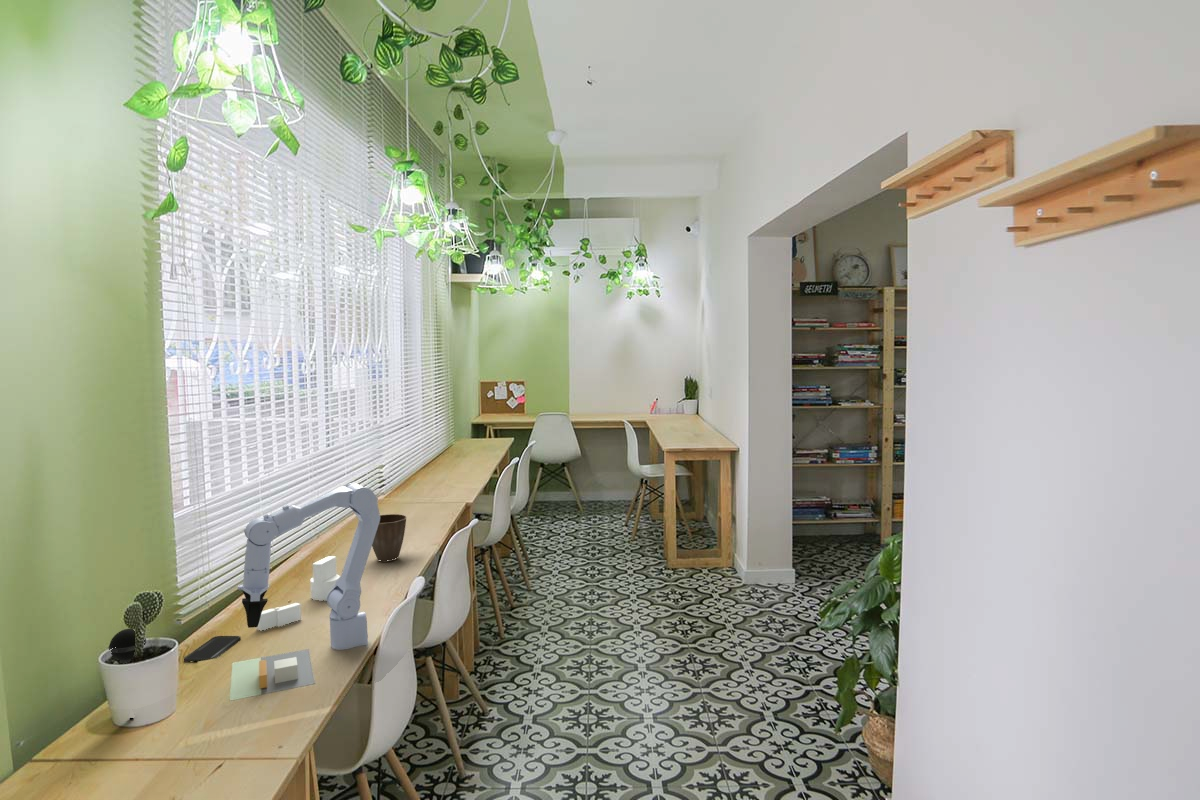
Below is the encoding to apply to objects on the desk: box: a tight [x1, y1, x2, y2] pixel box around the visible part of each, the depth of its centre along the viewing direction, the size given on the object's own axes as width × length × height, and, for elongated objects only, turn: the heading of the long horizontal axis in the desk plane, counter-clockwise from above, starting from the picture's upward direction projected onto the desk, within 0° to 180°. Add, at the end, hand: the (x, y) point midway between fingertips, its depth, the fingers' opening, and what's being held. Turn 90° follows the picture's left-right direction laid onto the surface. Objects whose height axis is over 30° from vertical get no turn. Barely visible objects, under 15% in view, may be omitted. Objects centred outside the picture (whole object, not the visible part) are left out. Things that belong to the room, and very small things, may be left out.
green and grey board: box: [229, 648, 316, 702], centre depth 173 cm, size 18×22×1 cm
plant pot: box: [371, 513, 407, 561], centre depth 270 cm, size 15×15×16 cm
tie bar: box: [259, 660, 267, 688], centre depth 168 cm, size 2×9×3 cm, turn 26°
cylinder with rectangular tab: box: [310, 555, 341, 602], centre depth 230 cm, size 9×9×12 cm
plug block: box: [274, 657, 298, 683], centre depth 170 cm, size 5×5×4 cm
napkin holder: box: [256, 602, 302, 632], centre depth 206 cm, size 15×11×6 cm
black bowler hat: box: [107, 628, 147, 664], centre depth 153 cm, size 7×7×20 cm
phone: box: [183, 635, 242, 663], centre depth 189 cm, size 8×1×15 cm
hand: (252, 622), depth 175 cm, fingers open, 7 cm apart
